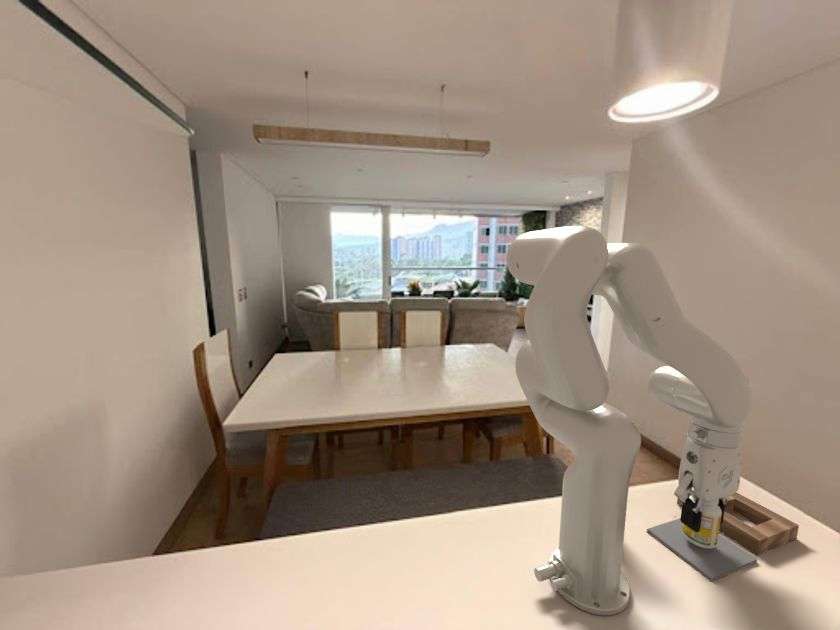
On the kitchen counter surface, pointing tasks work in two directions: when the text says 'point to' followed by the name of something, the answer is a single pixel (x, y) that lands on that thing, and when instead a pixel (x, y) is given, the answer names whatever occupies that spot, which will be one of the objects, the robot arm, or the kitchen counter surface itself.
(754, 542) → the housing
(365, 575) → the kitchen counter surface
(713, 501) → the supplement bottle
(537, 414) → the robot arm
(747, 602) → the kitchen counter surface
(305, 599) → the kitchen counter surface
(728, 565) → the pad
